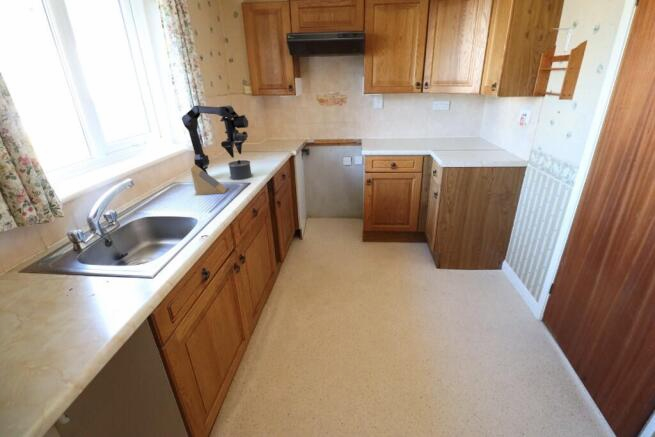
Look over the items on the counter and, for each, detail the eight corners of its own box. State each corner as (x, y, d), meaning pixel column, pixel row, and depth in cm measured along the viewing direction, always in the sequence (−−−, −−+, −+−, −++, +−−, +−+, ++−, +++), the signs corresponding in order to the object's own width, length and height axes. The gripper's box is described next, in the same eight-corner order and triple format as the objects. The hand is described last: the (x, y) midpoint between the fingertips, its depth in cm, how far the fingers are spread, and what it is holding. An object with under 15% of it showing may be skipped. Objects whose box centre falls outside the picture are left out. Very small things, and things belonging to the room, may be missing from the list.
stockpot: (226, 179, 202) (223, 162, 198) (237, 173, 214) (234, 157, 209) (245, 180, 198) (243, 162, 194) (255, 173, 210) (253, 157, 206)
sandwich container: (224, 193, 177) (219, 166, 171) (196, 195, 176) (190, 168, 170) (227, 188, 185) (223, 162, 179) (200, 190, 184) (195, 164, 178)
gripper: (235, 130, 175) (241, 158, 181) (250, 125, 191) (255, 151, 197) (217, 131, 177) (224, 159, 183) (233, 126, 194) (239, 152, 200)
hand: (236, 155), depth 191 cm, fingers open, 9 cm apart
